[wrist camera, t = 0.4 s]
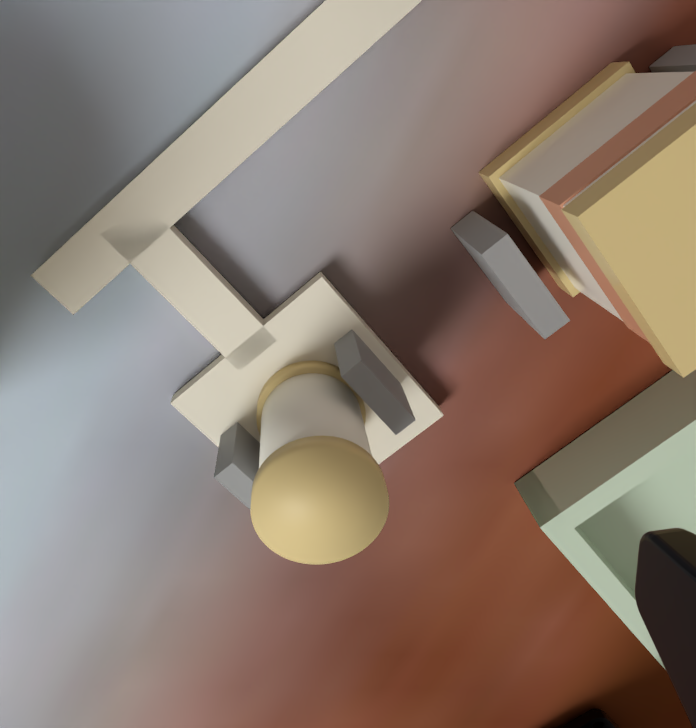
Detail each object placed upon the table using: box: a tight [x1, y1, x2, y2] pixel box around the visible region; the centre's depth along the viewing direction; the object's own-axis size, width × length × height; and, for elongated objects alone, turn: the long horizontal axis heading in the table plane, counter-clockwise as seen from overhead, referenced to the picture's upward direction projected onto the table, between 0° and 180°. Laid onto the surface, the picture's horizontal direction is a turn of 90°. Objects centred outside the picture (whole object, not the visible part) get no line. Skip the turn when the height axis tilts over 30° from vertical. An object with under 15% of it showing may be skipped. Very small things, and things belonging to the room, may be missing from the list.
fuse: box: [478, 62, 696, 378], centre depth 16 cm, size 4×4×7 cm
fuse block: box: [31, 0, 696, 564], centre depth 16 cm, size 11×27×6 cm, turn 129°
